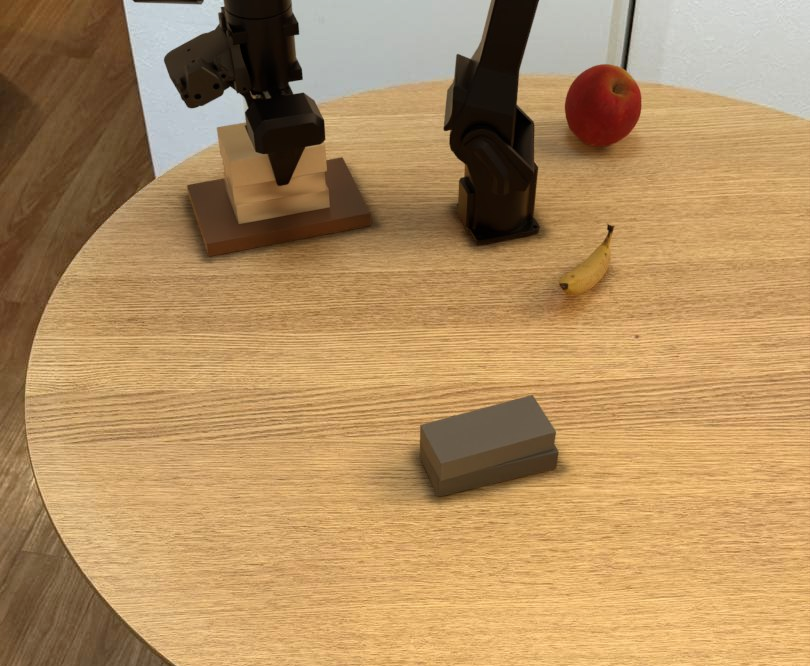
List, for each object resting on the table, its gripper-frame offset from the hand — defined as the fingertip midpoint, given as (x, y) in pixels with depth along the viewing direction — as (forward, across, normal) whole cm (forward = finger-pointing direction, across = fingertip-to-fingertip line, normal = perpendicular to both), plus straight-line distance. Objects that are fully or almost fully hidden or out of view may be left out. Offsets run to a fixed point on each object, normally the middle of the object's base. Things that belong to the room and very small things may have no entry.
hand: (274, 165), depth 110 cm
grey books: (+5, +38, +8) cm, 39 cm away
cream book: (0, 0, 0) cm, 0 cm away
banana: (+5, +20, +24) cm, 32 cm away
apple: (+5, -2, +35) cm, 35 cm away
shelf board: (+5, 0, 0) cm, 5 cm away
